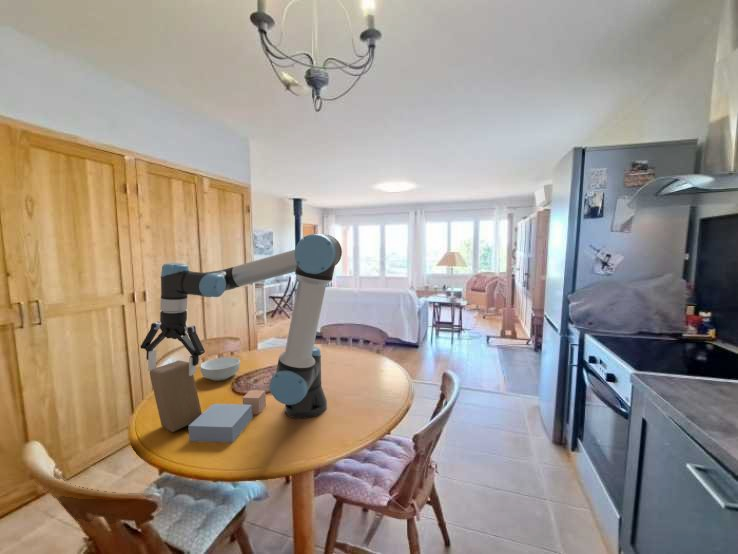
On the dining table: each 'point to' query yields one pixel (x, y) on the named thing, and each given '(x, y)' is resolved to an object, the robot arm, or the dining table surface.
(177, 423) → the wooden block
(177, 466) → the dining table surface
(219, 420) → the plinth
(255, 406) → the terracotta cube
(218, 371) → the cereal bowl
